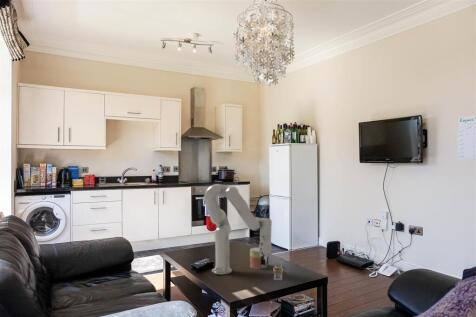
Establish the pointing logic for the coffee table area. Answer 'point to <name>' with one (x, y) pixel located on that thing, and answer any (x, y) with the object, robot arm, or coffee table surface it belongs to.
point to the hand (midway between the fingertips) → (264, 263)
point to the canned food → (255, 258)
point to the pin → (265, 262)
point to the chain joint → (278, 272)
